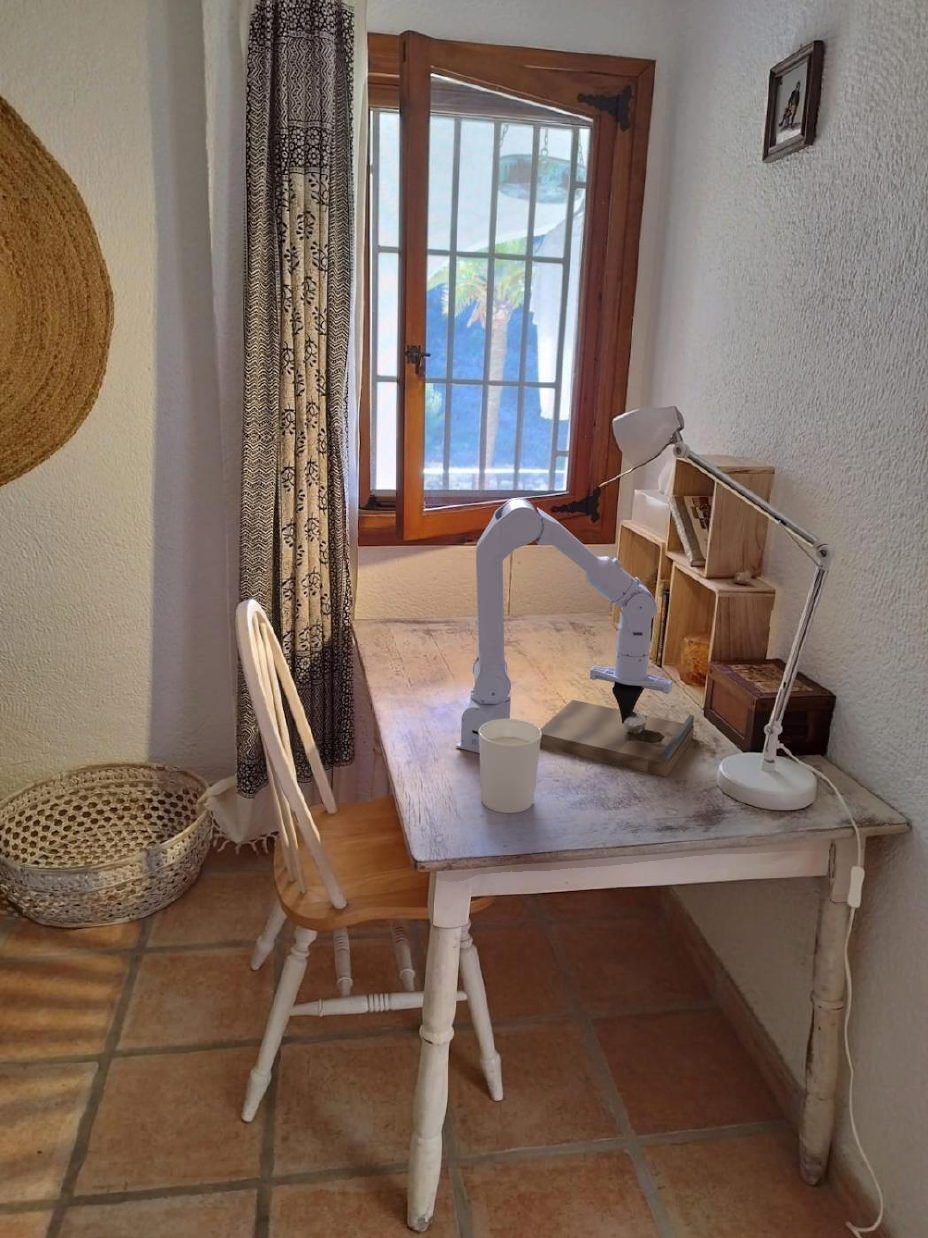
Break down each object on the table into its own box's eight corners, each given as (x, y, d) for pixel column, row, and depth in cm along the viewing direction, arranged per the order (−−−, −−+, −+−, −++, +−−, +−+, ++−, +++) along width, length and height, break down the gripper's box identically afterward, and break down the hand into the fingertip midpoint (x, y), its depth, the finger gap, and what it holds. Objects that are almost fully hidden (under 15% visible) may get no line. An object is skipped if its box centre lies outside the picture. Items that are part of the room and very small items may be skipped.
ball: (628, 712, 158) (616, 727, 160) (646, 726, 158) (634, 741, 160) (634, 704, 162) (623, 719, 164) (652, 717, 161) (640, 732, 163)
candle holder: (550, 800, 142) (554, 731, 138) (511, 823, 135) (515, 751, 131) (502, 780, 148) (505, 713, 144) (463, 800, 141) (465, 731, 137)
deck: (535, 745, 161) (537, 722, 160) (571, 711, 176) (573, 690, 175) (666, 777, 150) (669, 752, 149) (692, 738, 166) (695, 715, 164)
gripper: (679, 651, 158) (672, 722, 162) (600, 638, 164) (596, 706, 168) (668, 664, 152) (661, 736, 156) (587, 649, 158) (583, 720, 162)
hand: (627, 722), depth 162 cm, fingers closed, pressing on ball
